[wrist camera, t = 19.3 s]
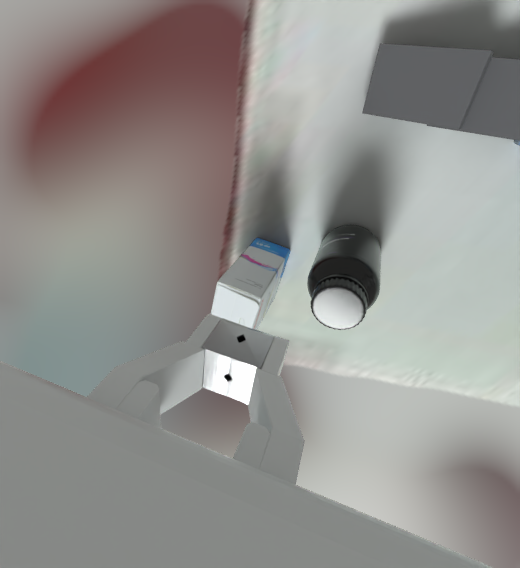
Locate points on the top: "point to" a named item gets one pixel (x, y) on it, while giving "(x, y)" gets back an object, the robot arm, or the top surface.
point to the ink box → (250, 284)
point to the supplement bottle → (345, 277)
